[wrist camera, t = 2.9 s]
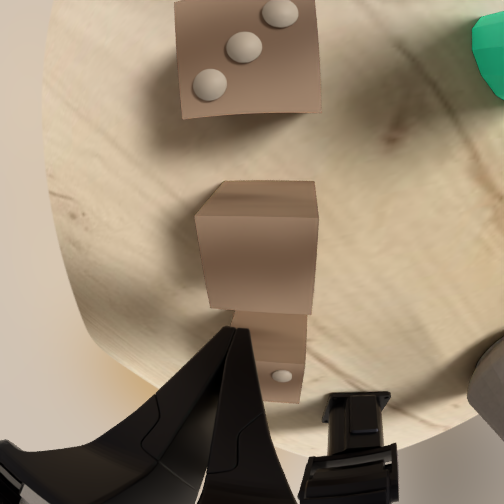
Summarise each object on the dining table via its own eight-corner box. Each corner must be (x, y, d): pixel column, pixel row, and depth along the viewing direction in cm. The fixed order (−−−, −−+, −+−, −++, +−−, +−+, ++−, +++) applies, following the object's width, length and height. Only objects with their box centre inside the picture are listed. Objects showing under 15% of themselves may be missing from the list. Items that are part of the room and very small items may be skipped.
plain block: (311, 259, 17) (311, 314, 13) (232, 256, 18) (210, 307, 14) (314, 180, 15) (319, 218, 11) (224, 180, 16) (194, 216, 11)
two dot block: (302, 351, 22) (298, 405, 18) (240, 347, 23) (227, 398, 19) (307, 307, 19) (305, 366, 15) (235, 302, 20) (217, 358, 16)
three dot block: (314, 108, 13) (321, 113, 8) (216, 111, 14) (177, 120, 9) (309, 20, 10) (313, -15, 6) (210, 27, 11) (168, 2, 7)
